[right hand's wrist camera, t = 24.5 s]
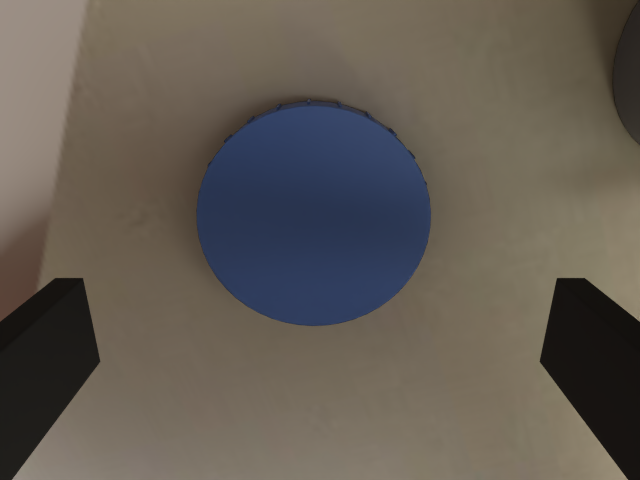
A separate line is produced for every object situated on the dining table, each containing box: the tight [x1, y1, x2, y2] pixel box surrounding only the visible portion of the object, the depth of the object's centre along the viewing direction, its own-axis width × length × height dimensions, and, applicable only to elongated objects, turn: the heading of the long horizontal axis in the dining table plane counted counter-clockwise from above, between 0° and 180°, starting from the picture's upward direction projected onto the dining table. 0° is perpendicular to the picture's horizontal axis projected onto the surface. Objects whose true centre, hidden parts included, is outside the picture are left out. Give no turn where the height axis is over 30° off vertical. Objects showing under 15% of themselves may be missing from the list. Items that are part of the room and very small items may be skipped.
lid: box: [197, 99, 431, 326], centre depth 18 cm, size 9×9×2 cm
